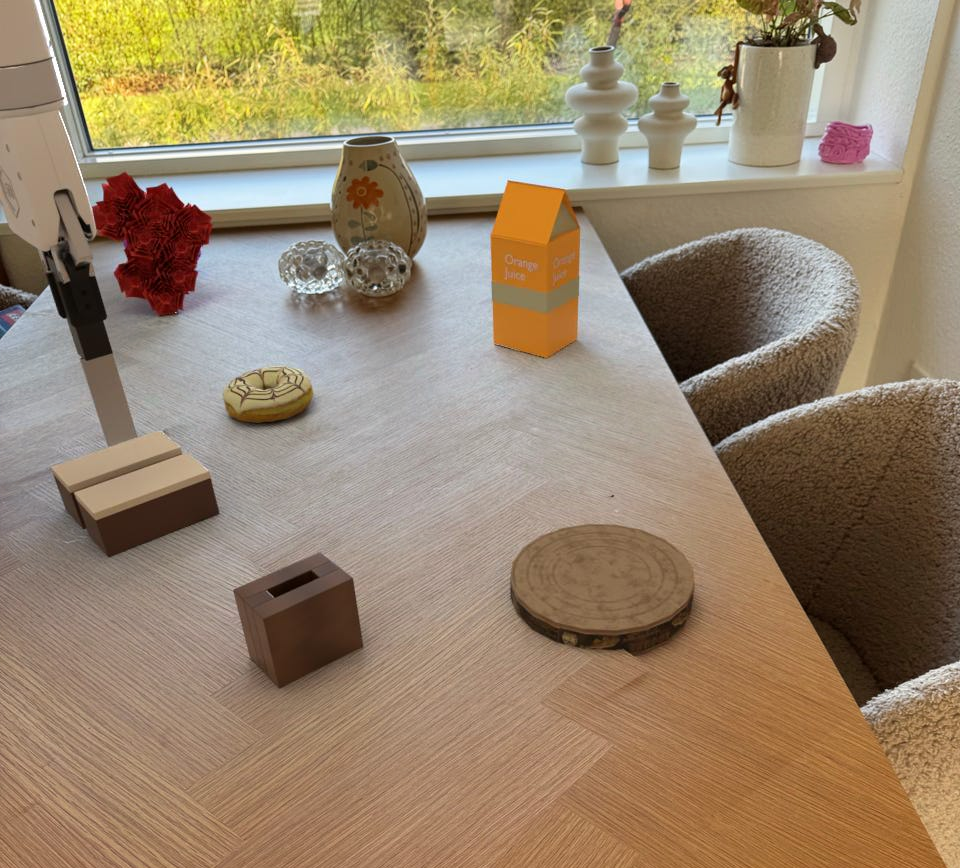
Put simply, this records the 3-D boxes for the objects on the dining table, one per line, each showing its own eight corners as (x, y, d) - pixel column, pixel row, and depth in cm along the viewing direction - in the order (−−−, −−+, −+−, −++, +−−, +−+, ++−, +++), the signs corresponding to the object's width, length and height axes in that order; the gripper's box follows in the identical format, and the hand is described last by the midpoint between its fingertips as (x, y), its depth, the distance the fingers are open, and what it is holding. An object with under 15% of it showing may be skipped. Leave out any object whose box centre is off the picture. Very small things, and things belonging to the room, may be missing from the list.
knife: (112, 450, 93) (52, 261, 82) (104, 442, 95) (43, 256, 83) (141, 440, 95) (86, 253, 83) (132, 432, 96) (77, 248, 85)
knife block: (281, 697, 76) (263, 619, 71) (251, 666, 80) (232, 589, 75) (365, 655, 80) (353, 577, 75) (333, 627, 83) (320, 551, 78)
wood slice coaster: (729, 604, 84) (734, 577, 82) (599, 685, 76) (600, 657, 74) (601, 531, 93) (602, 505, 91) (474, 596, 86) (472, 569, 84)
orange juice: (546, 358, 126) (547, 196, 113) (492, 344, 130) (487, 187, 117) (578, 339, 130) (583, 181, 118) (525, 326, 135) (524, 172, 122)
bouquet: (209, 288, 170) (233, 305, 145) (113, 304, 166) (121, 324, 140) (180, 166, 161) (200, 161, 136) (78, 179, 157) (79, 177, 131)
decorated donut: (220, 399, 120) (213, 371, 118) (303, 383, 123) (298, 355, 120) (235, 434, 112) (228, 404, 110) (323, 415, 115) (319, 386, 113)
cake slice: (108, 557, 93) (93, 513, 90) (88, 535, 96) (73, 492, 93) (220, 513, 99) (209, 470, 96) (198, 494, 102) (187, 452, 99)
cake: (83, 529, 97) (67, 486, 94) (65, 508, 101) (50, 466, 97) (191, 488, 103) (180, 446, 100) (171, 470, 106) (160, 429, 103)
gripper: (-65, 83, 78) (14, 306, 90) (-6, 109, 68) (74, 356, 80) (27, 70, 82) (91, 286, 93) (95, 93, 72) (158, 331, 84)
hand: (83, 317), depth 87 cm, fingers closed on knife, 2 cm apart
